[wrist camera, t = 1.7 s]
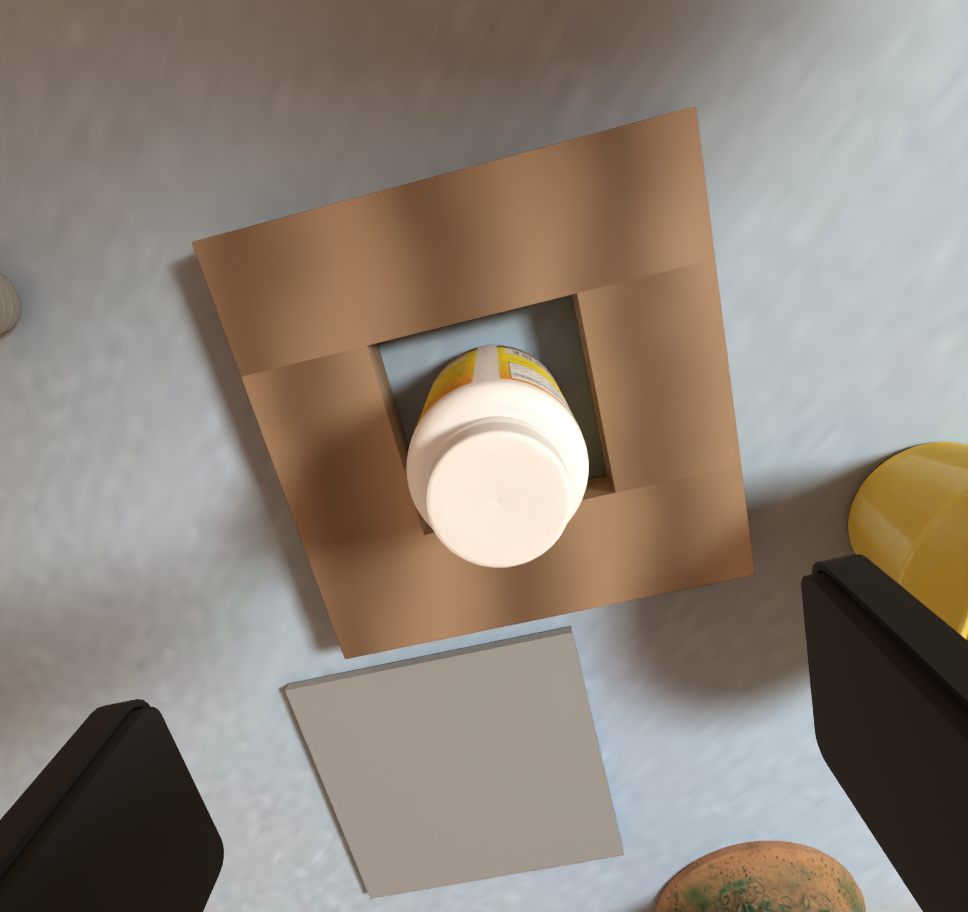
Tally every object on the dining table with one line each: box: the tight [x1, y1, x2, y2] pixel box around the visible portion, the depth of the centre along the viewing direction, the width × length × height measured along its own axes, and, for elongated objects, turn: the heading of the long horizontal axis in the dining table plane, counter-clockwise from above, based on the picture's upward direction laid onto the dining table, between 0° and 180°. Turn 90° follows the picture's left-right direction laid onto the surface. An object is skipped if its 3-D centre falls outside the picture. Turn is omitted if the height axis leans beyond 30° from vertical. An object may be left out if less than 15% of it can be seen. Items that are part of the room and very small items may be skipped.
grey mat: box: [285, 626, 624, 899], centre depth 32 cm, size 14×14×1 cm
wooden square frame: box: [192, 106, 755, 659], centre depth 26 cm, size 18×18×2 cm
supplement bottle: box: [406, 345, 589, 568], centre depth 22 cm, size 6×6×10 cm
